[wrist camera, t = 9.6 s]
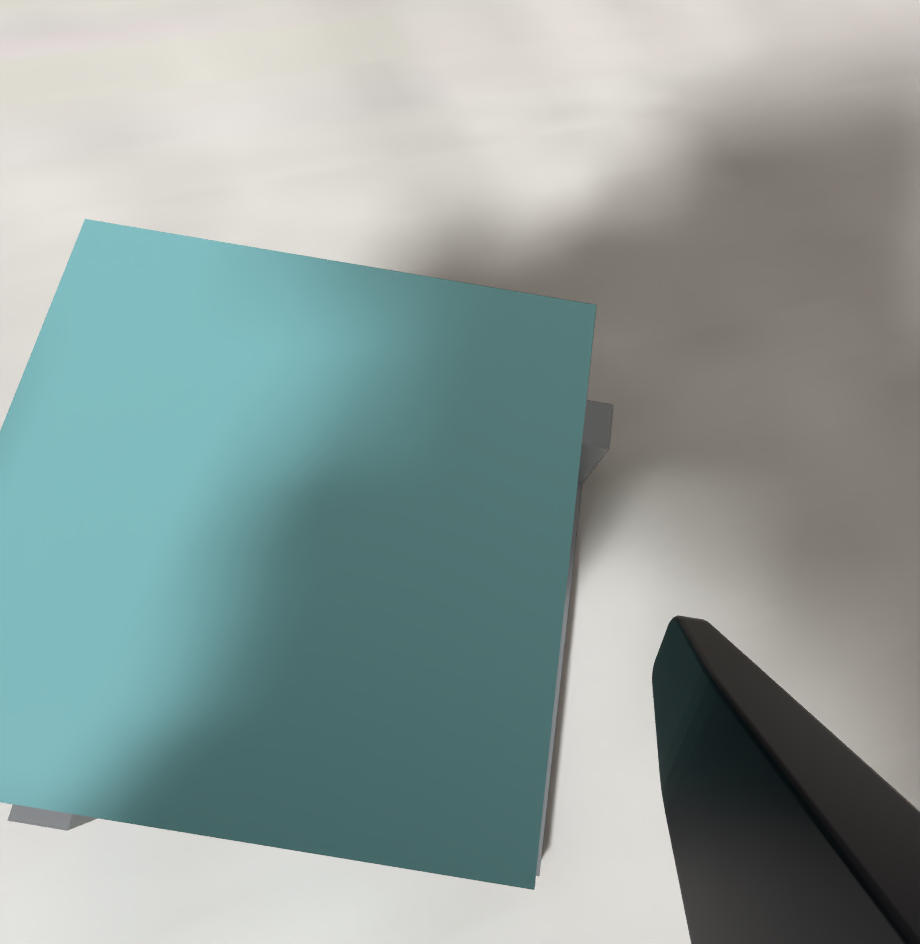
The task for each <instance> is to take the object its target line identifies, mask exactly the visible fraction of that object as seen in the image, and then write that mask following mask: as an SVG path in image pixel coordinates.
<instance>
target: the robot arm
mask: <svg viewBox="0 0 920 944" xmlns="http://www.w3.org/2000/svg"><path fill="white" fill-rule="evenodd" d="M652 686H653V698H654V710H655V723H656V735H657V747H658V759H659V772H660V781H661V791H662V797H663V802H664V808H665V814H666V819H667V824H668V829H669V834H670V839H671V844H672V849H673V854H674V859H675V864H676V869H677V874H678V879H679V884H680V889H681V894H682V899H683V904H684V909H685V914H686V919H687V924H688V930H689V935H690V940H691V944H920V811H919V810H917V809H916V808H915V807H914V806H913V805H912V804H911V803H910V802H909V801H907V800H906V799H905V798H904V797H903V796H902V795H901V794H900V793H898V792H897V791H896V790H895V789H894V788H893V787H892V786H891V785H890V784H888V783H887V782H886V781H885V780H884V779H883V778H882V777H881V776H880V775H878V774H877V773H876V772H875V771H874V770H873V769H872V768H871V767H869V766H868V765H867V764H866V763H865V762H864V761H863V760H862V759H861V758H859V757H858V756H857V755H856V754H855V753H854V752H853V751H852V750H851V749H849V748H848V747H847V746H846V745H845V744H844V743H843V742H842V741H841V740H839V739H838V738H837V737H836V736H835V735H834V734H833V733H832V732H830V731H829V730H828V729H827V728H826V727H825V726H824V725H823V724H822V723H820V722H819V721H818V720H817V719H816V718H815V717H814V716H813V715H812V714H810V713H809V712H808V711H807V710H806V709H805V708H804V707H803V706H801V705H800V704H799V703H798V702H797V701H796V700H795V699H794V698H793V697H791V696H790V695H789V694H788V693H787V692H786V691H785V690H784V689H783V688H781V687H780V686H779V685H778V684H777V683H776V682H775V681H774V680H772V679H771V678H770V677H769V676H768V675H767V674H766V673H765V672H764V671H762V670H761V669H760V668H759V667H758V666H757V665H756V664H755V663H754V662H752V661H751V660H750V659H749V658H748V657H747V656H746V655H745V654H743V653H742V652H741V651H740V650H739V649H738V648H737V647H736V646H735V645H733V644H732V643H731V642H730V641H729V640H728V639H727V638H726V637H725V636H723V635H722V634H721V633H720V632H719V631H718V630H717V629H716V628H714V627H713V626H712V625H711V624H710V623H709V622H707V621H705V620H703V619H697V618H691V617H685V616H676V617H674V618H673V619H672V620H671V621H670V623H669V625H668V627H667V630H666V633H665V635H664V638H663V641H662V643H661V646H660V649H659V652H658V654H657V657H656V660H655V662H654V666H653V673H652Z"/></svg>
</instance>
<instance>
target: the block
mask: <svg viewBox="0 0 920 944" xmlns="http://www.w3.org/2000/svg"><path fill="white" fill-rule="evenodd" d="M595 315H596V305H594V304H588V303H582V302H576V301H570V300H564V299H559V298H553V297H547V296H541V295H535V294H529V293H523V292H517V291H511V290H505V289H499V288H493V287H487V286H481V285H475V284H469V283H463V282H457V281H451V280H445V279H439V278H433V277H427V276H421V275H415V274H409V273H404V272H398V271H392V270H386V269H380V268H374V267H368V266H362V265H356V264H350V263H344V262H338V261H332V260H326V259H320V258H314V257H308V256H302V255H296V254H290V253H284V252H278V251H272V250H266V249H260V248H255V247H249V246H243V245H237V244H231V243H225V242H219V241H213V240H207V239H201V238H195V237H189V236H183V235H177V234H171V233H165V232H159V231H153V230H147V229H141V228H135V227H129V226H123V225H117V224H111V223H105V222H100V221H94V220H88V219H85V221H84V223H83V226H82V228H81V231H80V233H79V236H78V238H77V241H76V243H75V246H74V248H73V251H72V253H71V256H70V258H69V261H68V263H67V266H66V268H65V271H64V273H63V276H62V278H61V281H60V283H59V286H58V288H57V291H56V293H55V296H54V298H53V301H52V303H51V306H50V308H49V311H48V313H47V316H46V318H45V321H44V323H43V326H42V328H41V331H40V333H39V336H38V338H37V341H36V343H35V346H34V348H33V351H32V353H31V356H30V358H29V361H28V363H27V366H26V368H25V371H24V373H23V376H22V378H21V381H20V383H19V386H18V388H17V391H16V393H15V396H14V398H13V401H12V403H11V406H10V408H9V411H8V413H7V416H6V418H5V421H4V423H3V426H2V428H1V431H0V802H3V803H9V804H15V805H21V806H27V807H33V808H39V809H45V810H51V811H57V812H64V813H70V814H76V815H82V816H88V817H94V818H100V819H106V820H112V821H118V822H125V823H131V824H137V825H143V826H149V827H155V828H161V829H167V830H173V831H179V832H186V833H192V834H198V835H204V836H210V837H216V838H222V839H228V840H234V841H240V842H247V843H253V844H259V845H265V846H271V847H277V848H283V849H289V850H295V851H301V852H307V853H314V854H320V855H326V856H332V857H338V858H344V859H350V860H356V861H362V862H368V863H375V864H381V865H387V866H393V867H399V868H405V869H411V870H417V871H423V872H429V873H436V874H442V875H448V876H454V877H460V878H466V879H472V880H478V881H484V882H490V883H497V884H503V885H509V886H515V887H521V888H527V889H533V890H534V887H535V878H536V869H537V859H538V850H539V840H540V831H541V822H542V812H543V803H544V793H545V784H546V775H547V765H548V756H549V747H550V737H551V728H552V718H553V709H554V700H555V690H556V681H557V671H558V662H559V653H560V643H561V634H562V624H563V615H564V606H565V596H566V587H567V578H568V568H569V559H570V549H571V540H572V531H573V521H574V512H575V502H576V493H577V484H578V474H579V465H580V456H581V446H582V437H583V427H584V418H585V409H586V399H587V390H588V380H589V371H590V362H591V352H592V343H593V333H594V324H595Z"/></svg>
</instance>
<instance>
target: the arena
mask: <svg viewBox="0 0 920 944" xmlns="http://www.w3.org/2000/svg"><path fill="white" fill-rule="evenodd" d="M612 414H613V405H612V404H606V403H601V402H595V401H589V400H586V409H585V418H584V427H583V437H582V446H581V456H580V465H579V474H578V484H577V493H576V502H575V512H574V521H573V531H572V540H571V549H570V559H569V568H568V578H567V587H566V596H565V606H564V615H563V624H562V634H561V643H560V653H559V662H558V671H557V681H556V690H555V700H554V709H553V718H552V728H551V737H550V747H549V756H548V765H547V775H546V784H545V793H544V803H543V812H542V822H541V831H540V840H539V850H538V859H537V869H536V876H539V874H540V865H541V855H542V846H543V837H544V828H545V819H546V810H547V801H548V791H549V782H550V773H551V764H552V755H553V746H554V737H555V727H556V718H557V709H558V700H559V691H560V682H561V672H562V663H563V654H564V645H565V636H566V627H567V618H568V608H569V599H570V590H571V581H572V572H573V563H574V553H575V544H576V535H577V526H578V517H579V508H580V499H581V489H582V483H583V482H584V480H585V479H586V478H587V477H588V475H589V474H590V473H591V471H592V470H593V469H594V468H595V466H596V465H597V464H598V463H599V461H600V460H601V459H602V457H603V456H604V455H605V454H606V452H607V451H608V450H609V445H610V434H611V424H612ZM95 819H97V818H94V817H88V816H82V815H76V814H70V813H64V812H57V811H51V810H45V809H39V808H33V807H27V806H21V805H15V804H13V806H12V809H11V812H10V815H9V818H8V821H14V822H20V823H26V824H32V825H38V826H44V827H50V828H55V829H61V830H70V829H72V828H75V827H77V826H80V825H82V824H85V823H87V822H90V821H92V820H95Z"/></svg>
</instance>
